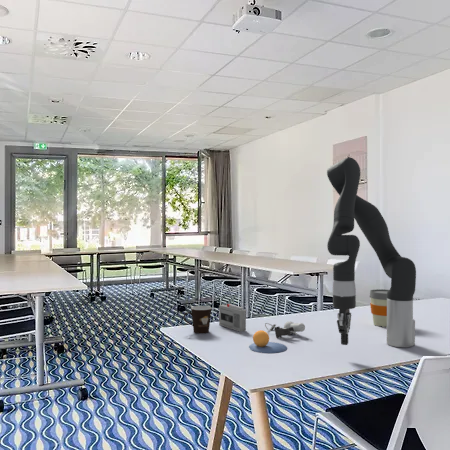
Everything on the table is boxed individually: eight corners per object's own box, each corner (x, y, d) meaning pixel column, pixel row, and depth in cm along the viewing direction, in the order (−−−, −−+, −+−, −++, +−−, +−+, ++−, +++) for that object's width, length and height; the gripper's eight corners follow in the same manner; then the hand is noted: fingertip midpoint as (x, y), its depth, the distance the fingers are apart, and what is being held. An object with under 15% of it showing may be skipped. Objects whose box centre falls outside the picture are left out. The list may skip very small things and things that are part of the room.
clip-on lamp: (260, 339, 191) (288, 339, 177) (256, 324, 192) (285, 322, 177) (280, 332, 198) (309, 332, 184) (277, 318, 199) (306, 316, 184)
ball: (259, 332, 175) (272, 341, 172) (249, 343, 172) (263, 352, 169) (259, 324, 170) (272, 333, 168) (249, 336, 167) (263, 345, 164)
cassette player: (219, 325, 204) (219, 302, 204) (224, 324, 206) (224, 302, 206) (240, 332, 192) (240, 308, 191) (245, 331, 193) (245, 307, 193)
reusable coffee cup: (405, 326, 202) (405, 292, 201) (382, 329, 197) (382, 294, 197) (385, 320, 213) (385, 288, 213) (363, 322, 209) (363, 290, 208)
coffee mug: (211, 329, 196) (211, 305, 196) (211, 334, 188) (211, 309, 188) (184, 329, 196) (184, 306, 196) (183, 334, 187) (183, 310, 187)
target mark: (277, 341, 177) (277, 340, 177) (293, 351, 164) (293, 350, 164) (243, 344, 173) (243, 343, 173) (257, 354, 160) (257, 354, 160)
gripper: (336, 290, 163) (337, 338, 163) (328, 295, 151) (329, 348, 151) (358, 291, 159) (359, 340, 160) (352, 297, 147) (352, 350, 148)
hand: (344, 344), depth 155 cm, fingers closed
